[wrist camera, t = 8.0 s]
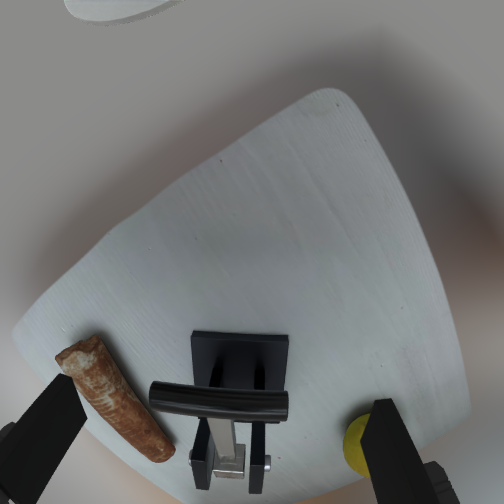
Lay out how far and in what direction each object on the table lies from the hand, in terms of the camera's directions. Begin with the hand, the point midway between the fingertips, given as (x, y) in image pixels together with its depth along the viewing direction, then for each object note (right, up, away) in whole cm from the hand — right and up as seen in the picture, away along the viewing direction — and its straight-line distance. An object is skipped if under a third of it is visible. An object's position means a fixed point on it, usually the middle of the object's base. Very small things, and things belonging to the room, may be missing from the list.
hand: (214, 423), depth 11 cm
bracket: (0, -6, +18) cm, 19 cm away
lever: (0, -4, +6) cm, 7 cm away
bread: (-13, -10, +20) cm, 25 cm away
